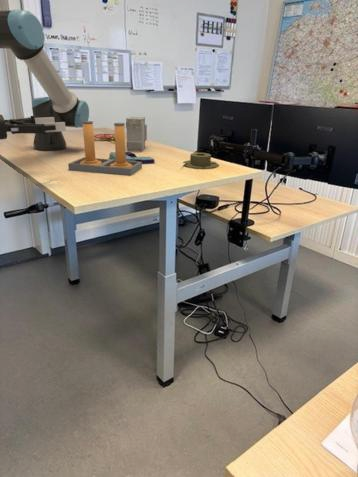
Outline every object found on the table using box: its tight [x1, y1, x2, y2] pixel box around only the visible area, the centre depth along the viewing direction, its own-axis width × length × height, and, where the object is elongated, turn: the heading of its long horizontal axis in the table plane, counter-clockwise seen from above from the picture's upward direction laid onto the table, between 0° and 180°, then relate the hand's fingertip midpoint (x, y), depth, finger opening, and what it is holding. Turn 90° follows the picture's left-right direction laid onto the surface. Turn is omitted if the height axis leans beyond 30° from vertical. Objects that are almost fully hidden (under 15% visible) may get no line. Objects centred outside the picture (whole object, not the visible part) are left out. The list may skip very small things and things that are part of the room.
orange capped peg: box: [110, 122, 132, 168], centre depth 128 cm, size 8×8×17 cm
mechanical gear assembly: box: [94, 133, 115, 145], centre depth 196 cm, size 30×4×15 cm
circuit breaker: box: [125, 116, 148, 153], centre depth 174 cm, size 8×14×15 cm, turn 174°
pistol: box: [108, 151, 156, 165], centre depth 146 cm, size 4×16×15 cm
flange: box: [182, 152, 219, 170], centre depth 148 cm, size 5×15×15 cm
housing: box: [67, 156, 143, 176], centre depth 132 cm, size 24×12×4 cm, turn 77°
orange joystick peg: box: [80, 120, 102, 165], centre depth 130 cm, size 8×8×17 cm
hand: (59, 123), depth 122 cm, fingers open, 13 cm apart
